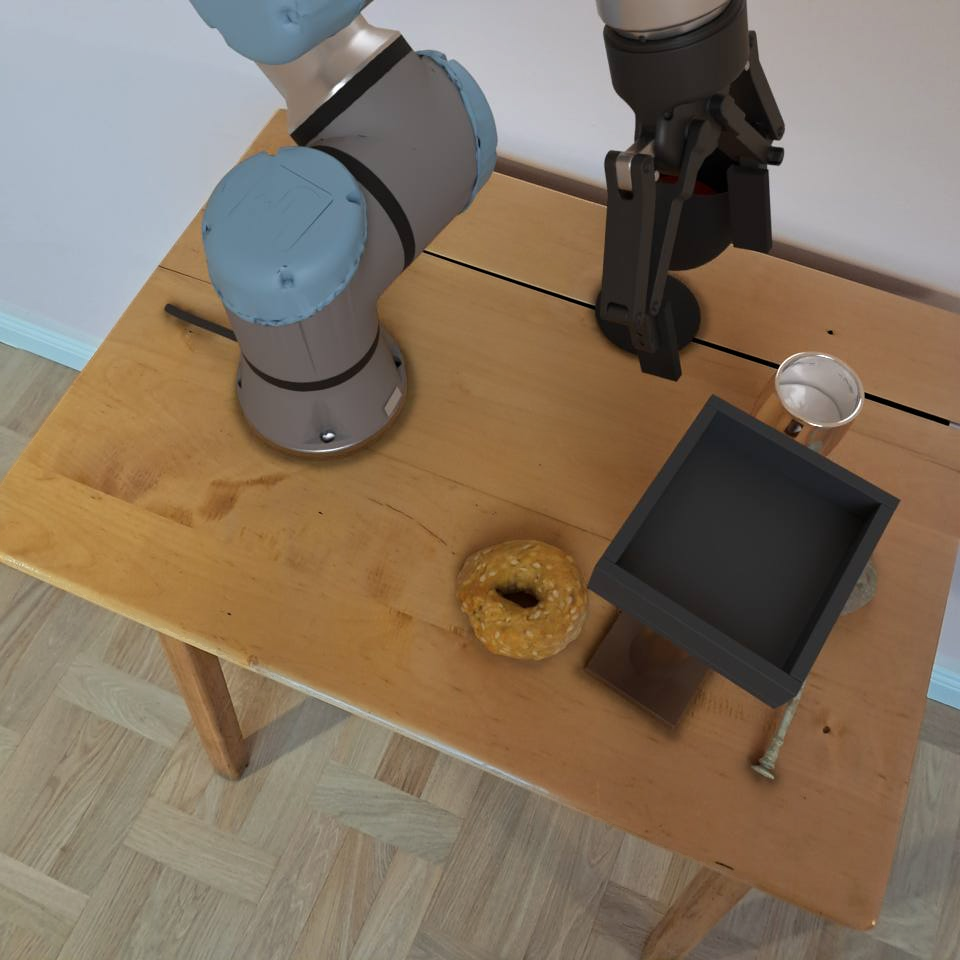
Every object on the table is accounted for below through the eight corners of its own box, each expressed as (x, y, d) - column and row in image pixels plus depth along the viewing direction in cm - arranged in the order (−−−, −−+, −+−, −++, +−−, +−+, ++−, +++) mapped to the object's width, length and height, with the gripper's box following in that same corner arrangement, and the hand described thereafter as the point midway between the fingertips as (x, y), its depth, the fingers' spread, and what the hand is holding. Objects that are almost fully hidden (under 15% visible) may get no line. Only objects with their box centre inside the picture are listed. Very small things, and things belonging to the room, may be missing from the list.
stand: (583, 671, 69) (636, 570, 49) (634, 593, 72) (704, 467, 52) (671, 730, 67) (765, 652, 47) (719, 647, 70) (828, 539, 50)
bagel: (495, 523, 75) (498, 499, 70) (607, 591, 72) (616, 571, 68) (429, 616, 71) (428, 597, 67) (544, 691, 68) (550, 676, 64)
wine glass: (700, 276, 87) (763, 113, 69) (701, 363, 82) (768, 211, 65) (596, 266, 87) (632, 100, 69) (591, 351, 83) (628, 198, 65)
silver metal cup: (794, 521, 75) (867, 437, 62) (714, 506, 76) (769, 419, 62) (797, 452, 78) (868, 357, 65) (720, 438, 79) (774, 341, 65)
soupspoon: (879, 561, 75) (805, 528, 76) (896, 544, 72) (818, 510, 73) (798, 798, 65) (716, 755, 67) (813, 789, 62) (726, 745, 64)
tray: (585, 587, 48) (594, 566, 45) (698, 421, 53) (712, 393, 50) (774, 710, 45) (796, 696, 42) (875, 523, 50) (901, 499, 47)
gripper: (610, 150, 39) (670, 449, 55) (840, -113, 48) (835, 207, 64) (481, 134, 43) (571, 416, 59) (717, -105, 53) (740, 193, 68)
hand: (709, 308), depth 62 cm, fingers open, 13 cm apart
